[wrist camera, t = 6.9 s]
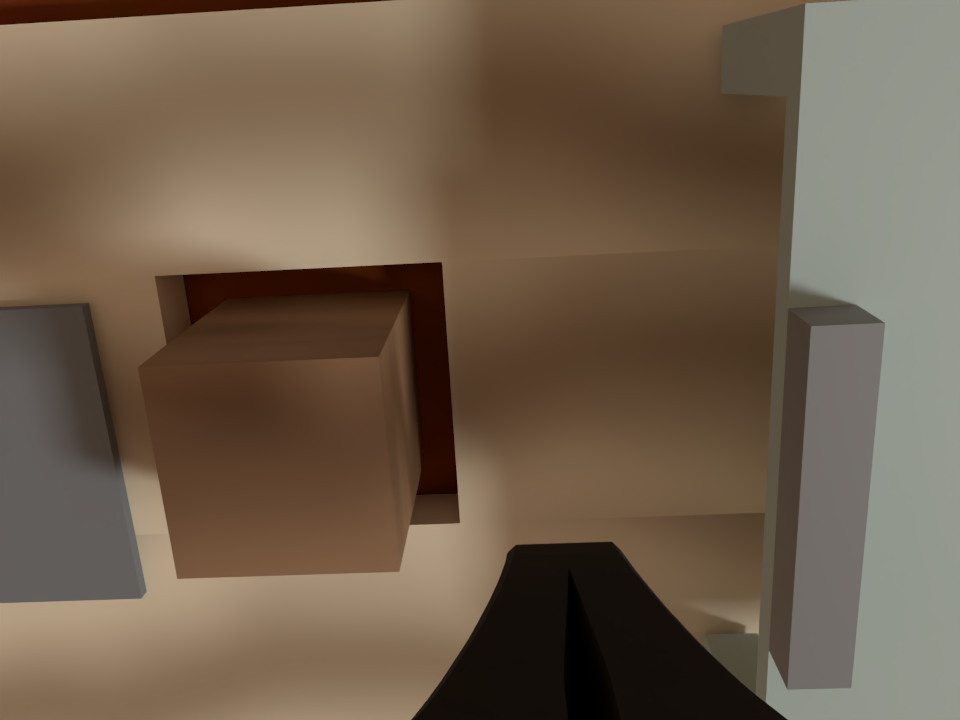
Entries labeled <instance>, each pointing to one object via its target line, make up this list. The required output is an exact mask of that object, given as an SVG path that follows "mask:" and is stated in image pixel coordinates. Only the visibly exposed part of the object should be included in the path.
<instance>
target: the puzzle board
mask: <svg viewBox="0 0 960 720" xmlns="http://www.w3.org/2000/svg"><path fill="white" fill-rule="evenodd" d="M835 1H852V0H392V1H376V2H360V3H344V4H329V5H313V6H297V7H281V8H265V9H249V10H233V11H217V12H201V13H185V14H170V15H154V16H138V17H122V18H106V19H90V20H74V21H58V22H42V23H26V24H11V25H0V307H12V306H33V305H54V304H75V303H89V307H90V312H91V316H92V321H93V326H94V331H95V336H96V341H97V346H98V351H99V356H100V361H101V366H102V371H103V376H104V381H105V386H106V391H107V396H108V401H109V406H110V411H111V416H112V421H113V426H114V431H115V436H116V441H117V446H118V451H119V456H120V461H121V466H122V471H123V476H124V481H125V486H126V491H127V496H128V501H129V506H130V510H131V515H132V520H133V525H134V530H135V535H136V540H137V545H138V550H139V555H140V560H141V565H142V570H143V575H144V580H145V585H146V590H147V592H146V593H145V595H144V596H143V597H142V599H114V600H83V601H52V602H20V603H0V720H411V719H412V718H413V717H414V716H415V714H416V713H417V712H418V711H419V710H420V708H421V707H422V706H423V704H424V703H425V702H426V701H427V699H428V698H429V697H430V695H431V694H432V693H433V691H434V690H435V689H436V687H437V686H438V684H439V683H440V682H441V680H442V679H443V677H444V676H445V674H446V673H447V671H448V670H449V668H450V667H451V665H452V663H453V662H454V660H455V659H456V657H457V656H458V654H459V653H460V651H461V650H462V648H463V647H464V645H465V644H466V642H467V640H468V639H469V637H470V635H471V634H472V632H473V630H474V628H475V626H476V624H477V623H478V621H479V619H480V617H481V615H482V613H483V611H484V610H485V608H486V606H487V604H488V602H489V600H490V598H491V596H492V594H493V592H494V589H495V587H496V585H497V583H498V580H499V578H500V576H501V573H502V570H503V567H504V564H505V561H506V556H507V553H508V552H509V551H510V550H511V549H512V548H513V547H514V546H515V545H522V544H552V543H582V542H613V543H614V544H615V545H616V546H617V547H618V548H619V549H620V550H621V551H622V552H623V554H624V555H625V557H626V558H627V559H628V561H629V562H630V563H631V565H632V566H633V567H634V569H635V570H636V571H637V572H638V574H639V575H640V576H641V577H642V579H643V580H644V581H645V582H646V584H647V585H648V586H649V587H650V588H651V590H652V591H653V592H654V593H655V594H656V596H657V597H658V598H659V599H660V600H661V601H662V603H663V604H664V605H665V606H666V607H667V608H668V609H669V611H670V612H671V613H672V614H673V615H674V616H675V617H676V618H677V619H678V620H679V621H680V622H681V623H682V625H683V626H684V627H685V628H686V629H687V630H688V631H689V632H690V633H691V634H692V635H693V636H694V637H695V639H696V640H697V641H698V642H699V643H700V644H701V645H702V646H703V647H704V640H705V635H708V634H743V633H757V634H758V636H759V618H760V598H761V579H762V560H763V541H764V522H765V502H766V483H767V464H768V445H769V425H770V406H771V387H772V368H773V349H774V329H775V310H776V291H777V272H778V252H779V233H780V214H781V195H782V176H783V156H784V137H785V118H786V99H787V97H785V96H763V95H742V94H721V62H722V28H723V25H727V24H730V23H734V22H738V21H742V20H745V19H749V18H753V17H756V16H760V15H764V14H768V13H771V12H775V11H779V10H783V9H786V8H790V7H794V6H797V5H801V4H805V3H819V2H835ZM433 262H442V271H443V285H444V299H445V314H446V328H447V342H448V357H449V371H450V385H451V400H452V414H453V428H454V442H455V457H456V471H457V485H458V493H454V494H427V495H416V498H415V502H414V507H413V512H412V516H411V521H410V525H409V530H408V534H407V539H406V544H405V548H404V553H403V557H402V562H401V566H400V571H399V572H378V573H346V574H315V575H284V576H252V577H221V578H190V579H177V575H176V569H175V564H174V559H173V553H172V548H171V543H170V537H169V532H168V527H167V521H166V516H165V511H164V505H163V500H162V495H161V489H160V484H159V479H158V473H157V468H156V463H155V457H154V452H153V447H152V441H151V436H150V431H149V425H148V420H147V415H146V409H145V404H144V399H143V393H142V388H141V383H140V377H139V372H138V367H139V366H140V365H141V364H142V363H144V362H145V361H146V360H148V359H149V358H150V357H151V356H153V355H154V354H155V353H157V352H158V351H159V350H161V349H162V348H163V347H164V346H166V345H167V344H168V343H170V342H171V341H172V340H173V339H175V338H176V337H177V336H179V335H180V334H181V333H183V332H184V331H185V330H186V329H188V328H189V327H190V326H191V321H190V315H189V309H188V303H187V297H186V291H185V285H184V279H183V275H188V274H209V273H229V272H249V271H270V270H290V269H311V268H331V267H352V266H372V265H392V264H413V263H433Z"/></svg>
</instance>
